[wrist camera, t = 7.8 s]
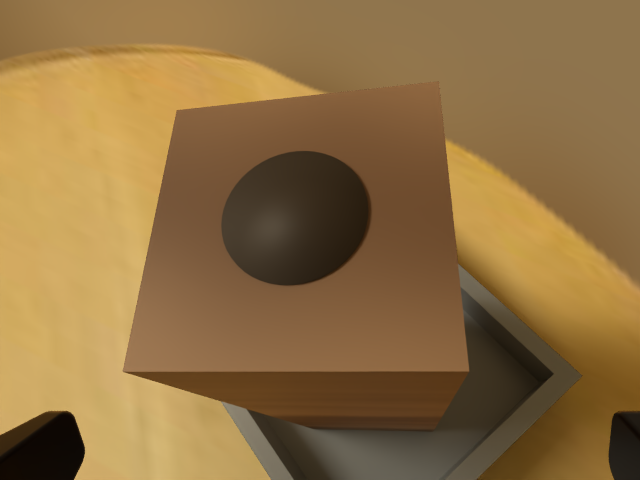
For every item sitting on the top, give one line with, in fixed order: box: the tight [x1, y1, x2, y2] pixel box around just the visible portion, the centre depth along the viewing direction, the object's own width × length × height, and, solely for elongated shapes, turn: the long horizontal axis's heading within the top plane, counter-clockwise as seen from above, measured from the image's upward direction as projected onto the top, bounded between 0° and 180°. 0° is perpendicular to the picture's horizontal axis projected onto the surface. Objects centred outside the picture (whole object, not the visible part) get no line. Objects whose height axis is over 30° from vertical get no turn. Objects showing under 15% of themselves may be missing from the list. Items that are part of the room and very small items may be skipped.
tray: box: [221, 264, 582, 480], centre depth 18 cm, size 10×10×2 cm
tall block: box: [123, 82, 469, 432], centre depth 13 cm, size 4×4×13 cm
